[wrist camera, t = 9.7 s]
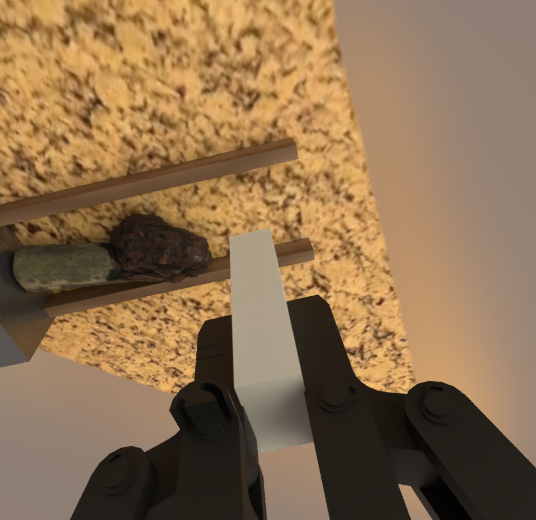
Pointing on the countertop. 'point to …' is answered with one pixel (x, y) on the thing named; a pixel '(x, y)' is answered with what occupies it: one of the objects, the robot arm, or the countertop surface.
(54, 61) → the countertop surface
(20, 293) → the block
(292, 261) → the channel rails
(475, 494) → the robot arm
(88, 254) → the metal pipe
